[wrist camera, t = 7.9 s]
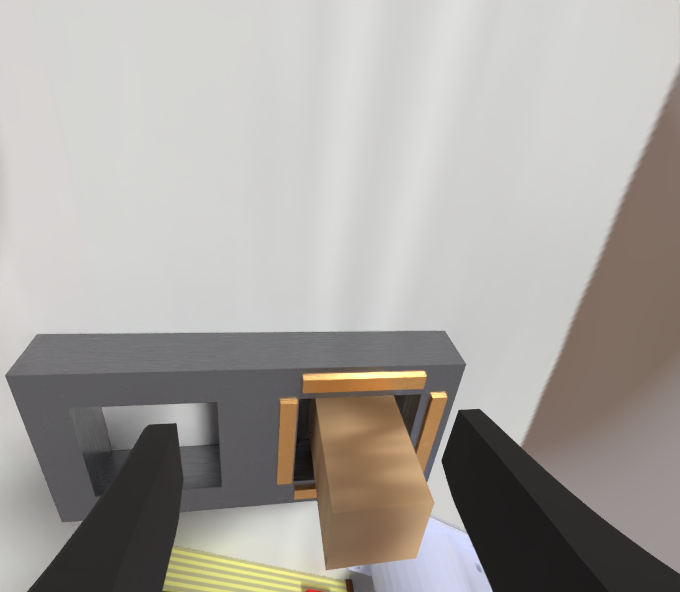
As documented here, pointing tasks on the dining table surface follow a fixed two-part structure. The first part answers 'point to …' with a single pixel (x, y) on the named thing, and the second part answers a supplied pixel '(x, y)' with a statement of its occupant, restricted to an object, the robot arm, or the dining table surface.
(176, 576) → the hardcover book
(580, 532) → the robot arm
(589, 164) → the dining table surface
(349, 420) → the wooden block
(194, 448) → the grey slotted holder
